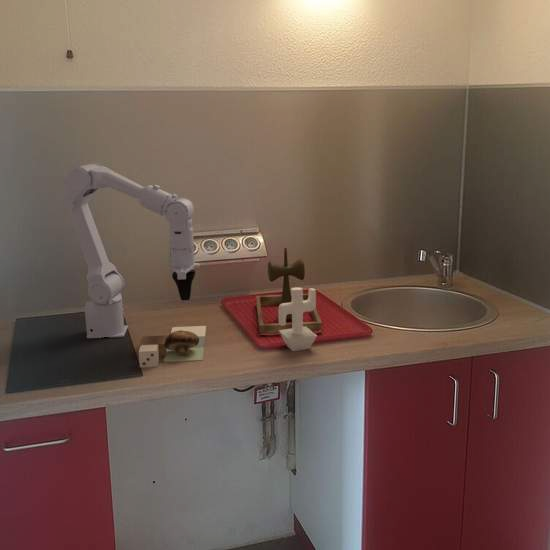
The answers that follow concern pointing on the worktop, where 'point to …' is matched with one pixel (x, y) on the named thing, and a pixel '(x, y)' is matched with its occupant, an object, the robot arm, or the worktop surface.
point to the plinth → (155, 343)
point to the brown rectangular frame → (275, 328)
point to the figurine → (297, 320)
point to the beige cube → (148, 356)
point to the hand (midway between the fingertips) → (185, 299)
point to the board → (194, 352)
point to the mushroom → (181, 341)
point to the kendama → (286, 277)
